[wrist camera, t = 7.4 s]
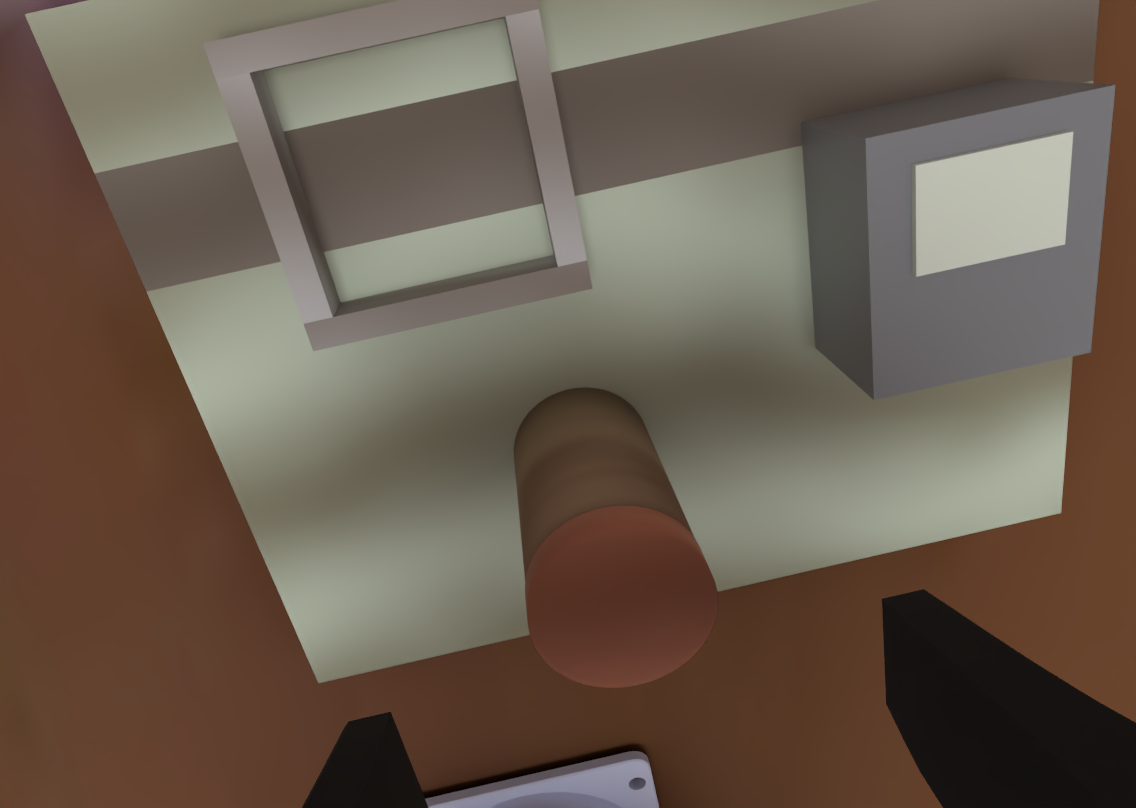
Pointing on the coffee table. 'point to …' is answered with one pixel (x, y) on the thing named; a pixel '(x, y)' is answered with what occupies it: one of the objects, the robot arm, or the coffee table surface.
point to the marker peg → (606, 545)
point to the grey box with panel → (957, 231)
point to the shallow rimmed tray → (534, 276)
